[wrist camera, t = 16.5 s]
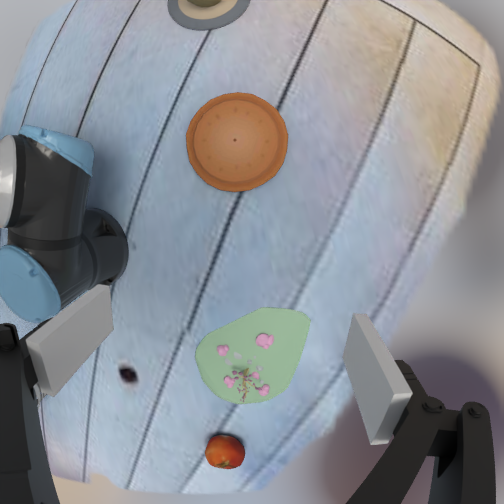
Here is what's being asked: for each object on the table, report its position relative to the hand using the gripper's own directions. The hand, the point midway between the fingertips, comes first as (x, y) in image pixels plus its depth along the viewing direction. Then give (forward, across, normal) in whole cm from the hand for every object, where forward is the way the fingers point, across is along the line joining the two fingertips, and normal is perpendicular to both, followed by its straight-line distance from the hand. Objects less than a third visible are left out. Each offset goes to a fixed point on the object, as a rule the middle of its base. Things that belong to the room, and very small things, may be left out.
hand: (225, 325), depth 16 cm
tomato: (+37, -2, -53) cm, 65 cm away
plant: (+38, +2, -26) cm, 46 cm away
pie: (+37, -4, +12) cm, 39 cm away
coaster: (+37, -12, +40) cm, 56 cm away
